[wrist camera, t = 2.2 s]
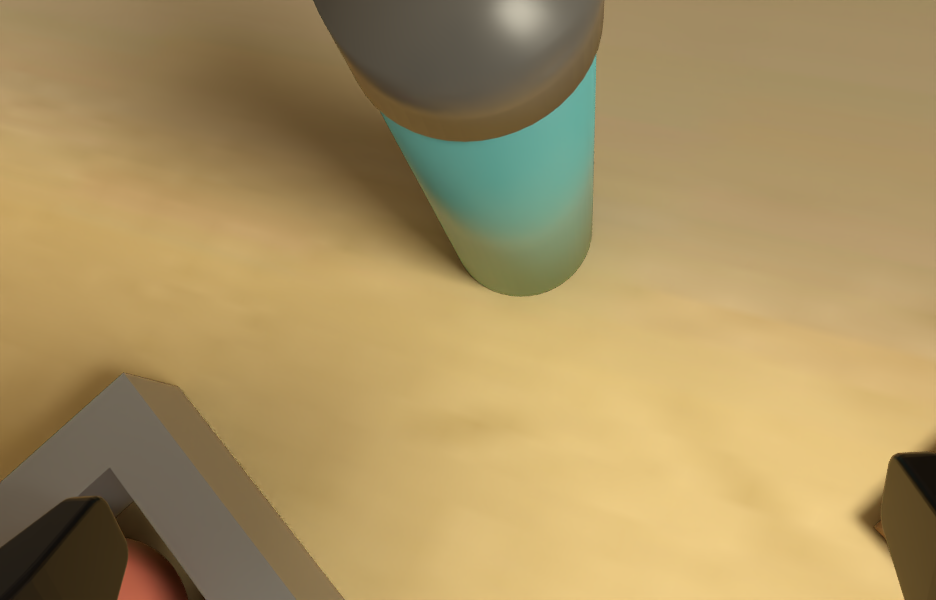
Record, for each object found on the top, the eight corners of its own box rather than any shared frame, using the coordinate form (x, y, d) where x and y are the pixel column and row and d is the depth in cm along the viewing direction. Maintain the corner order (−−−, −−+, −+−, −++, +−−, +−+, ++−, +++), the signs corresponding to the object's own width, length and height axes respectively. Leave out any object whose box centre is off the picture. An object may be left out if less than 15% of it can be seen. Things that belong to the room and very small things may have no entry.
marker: (517, 329, 23) (438, 141, 11) (421, 228, 24) (248, -51, 12) (626, 230, 24) (673, -68, 11) (525, 133, 25) (464, -238, 12)
